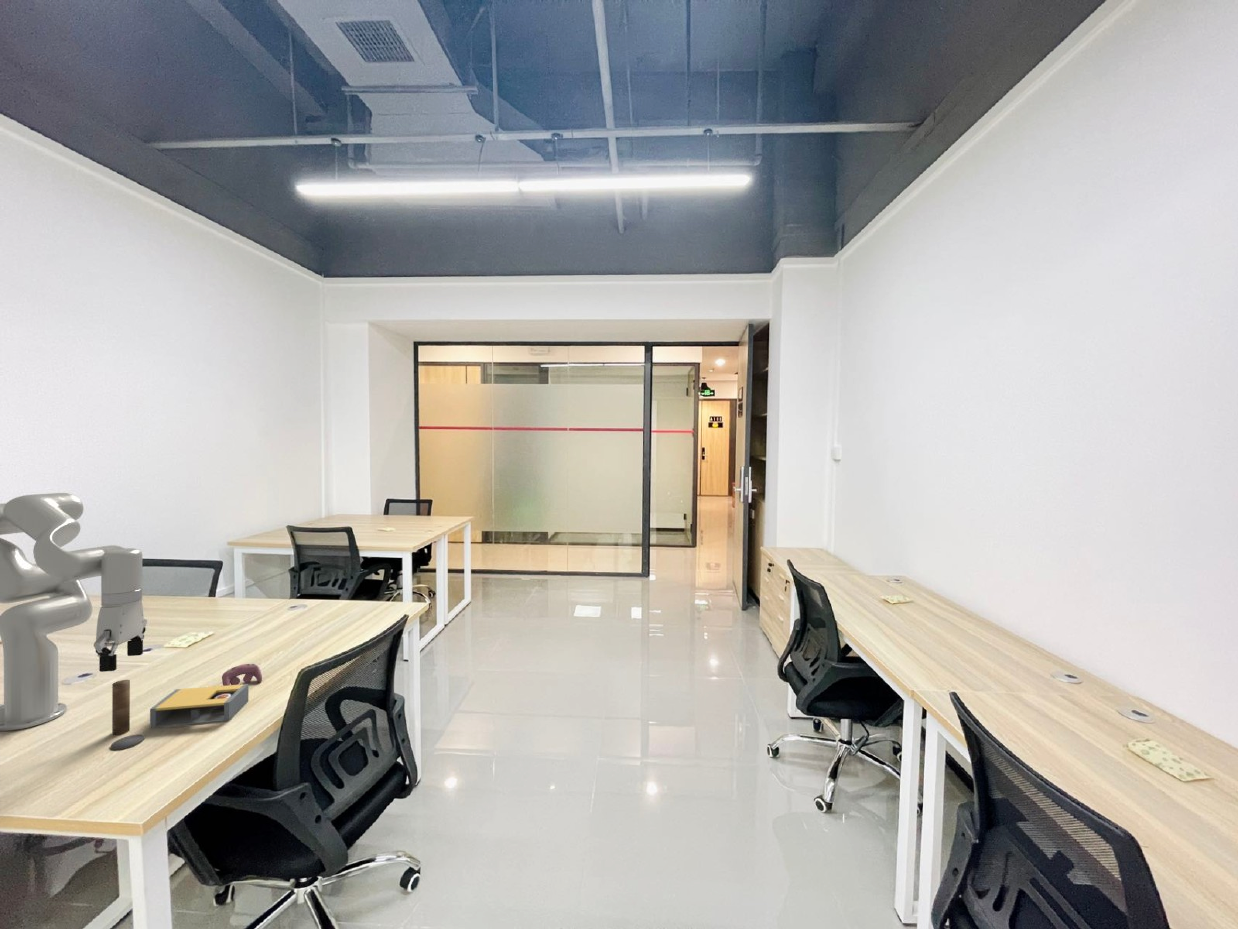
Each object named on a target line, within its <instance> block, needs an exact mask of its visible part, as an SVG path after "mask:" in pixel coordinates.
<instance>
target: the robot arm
mask: <svg viewBox="0 0 1238 929" xmlns="http://www.w3.org/2000/svg"><path fill="white" fill-rule="evenodd" d="M83 513H84V504H83V502H82V501H81V499H79V497H78V496H76V495H73V494H71V493H67V492H56V493H55V492H54V493H39V494H38V493H37V494H25V495H20V496H16V497H14V498H12V499H10V500H8V501H7V502H5V503H0V536H1V535H12V534H19V533H25V534H26V535H27V536H28V537H30V538H31V539H33V541H34V542H35V544H34V545H33V553H32V554H33V558H34V561H35V563H32V562H30V561H29V560H28V559H27V557H26V555H25V553H24V551H23V549H21V547H19V546H18V545H16V544H14V543H13V542H11V541H9V540H7V539H4V538H1V537H0V604H13V603H20V602H24V603H21V604H17V605H14V606H11V607H10V608H8V609H6V610H5V611H3V612H2V613H1V614H0V640H1V645H2V653H3V656H2V657H3V704H0V731H1V732H2V731H6V732H7V731H17V730H22V729H27V728H31V727H35V726H38V725H41V724H44V723H47V722H50V721H52V720H55V719H56V718H58V717H59V718H60V717H61V716H62V715H63V714H65V713H66V711H67V708H68V707H67V705H66V703H63V702H59V649H58V647H57V645H56V644H55V642H53V641H51V639H49V638H48V637H47V635H50V634H52V633H55V632H59V631H62V630H67V629H70V628H74V627H77V626H81V625H82V624H84V623H86V622H87V621H88V620H89V619H90V618H91V616H92V614H93V605H92V602H91V600H90V597H89V595H88V594H87V592H86V590H85V588H84V586H83V584H82V582H81V580H86V579H91V578H96V577H100V579H101V580H100V582H101V584H100V586H101V588H100V589H101V590H100V591H101V596H100V598H101V600H100V601H101V602H100V605H101V607H100V608H99V611H98V617H97V624H96V632H95V633H96V634H95V641H94V643H93V647H94V649H95V653H96V654H97V657H99V660H98V662H99V664H98V665H99V668H98V670H99V672H101V673H102V672H103V673H105V672H114V671H116V670H117V669H118V668H117V667H118V664H117V662H118V660H117V655H118V654H115V653H116V651H117V649H118V647H119V646H120V645H122V644H124V643H127V644H126V646H127V648H126V650H127V651H126V652H127V653H126V654H127V656H128V657H134V656H135V657H136V656H138V657H139V656H142V655H143V653H144V639H145V632H146V631H147V630H146V629H147V628H146V627H147V624H148V619H145V618H144V609H143V608H144V607H143V602H142V601H143V553H142V551H141V549H138V548H130V547H129V548H125V547H122V546H120V545H119V546H118V545H116V544H115V545H111V544H110V545H104V546H97V547H89V548H88V547H87V548H83V549H82V548H81V549H76V550H71V551H70V550H69V551H68V550H65V549H64V548H62V547H64V546H65V545H68V544H69V543H70V542H72V541H73V540H75V538H77V537H78V535H79V533H80V532H81V524H80V523H79V521H78V519H80V518H81V516H83ZM45 597H47V598H45ZM39 598H41V599H39ZM33 599H34V600H33ZM35 599H37V600H35ZM29 600H33V601H29ZM25 601H28V602H25ZM108 647H111V648H108Z"/></svg>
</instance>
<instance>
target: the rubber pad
mask: <svg viewBox="0 0 1238 929" xmlns="http://www.w3.org/2000/svg"><path fill="white" fill-rule="evenodd" d="M144 740H145V735H143V734H131V735H127V736H124V737H121V738H119V739H117V740H115V741H114V742H112V743H111V745H110V749H111V750H113V751H120V750H125V749H130V748H132V747H135V746H137V745H139V744H141V743H142V742H143V741H144Z"/></svg>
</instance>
